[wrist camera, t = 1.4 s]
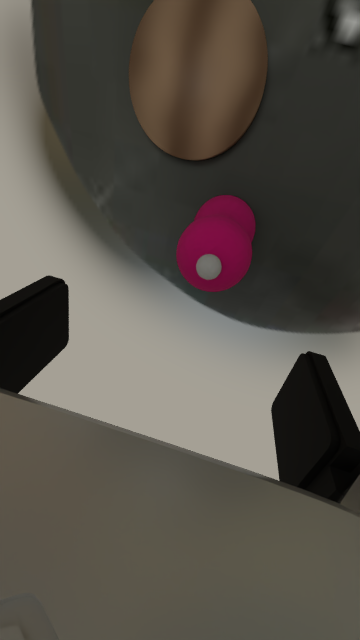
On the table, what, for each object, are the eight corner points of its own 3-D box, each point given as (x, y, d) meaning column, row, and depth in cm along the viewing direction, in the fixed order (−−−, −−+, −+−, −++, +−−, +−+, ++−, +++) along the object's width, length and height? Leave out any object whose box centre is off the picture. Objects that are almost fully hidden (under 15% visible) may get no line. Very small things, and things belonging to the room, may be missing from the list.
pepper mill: (187, 220, 36) (135, 263, 19) (230, 179, 33) (214, 185, 15) (221, 261, 38) (202, 335, 20) (266, 225, 34) (286, 278, 17)
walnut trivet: (288, 5, 25) (292, -11, 23) (240, 172, 32) (240, 172, 30) (146, -22, 26) (137, -40, 24) (130, 145, 33) (122, 143, 31)
